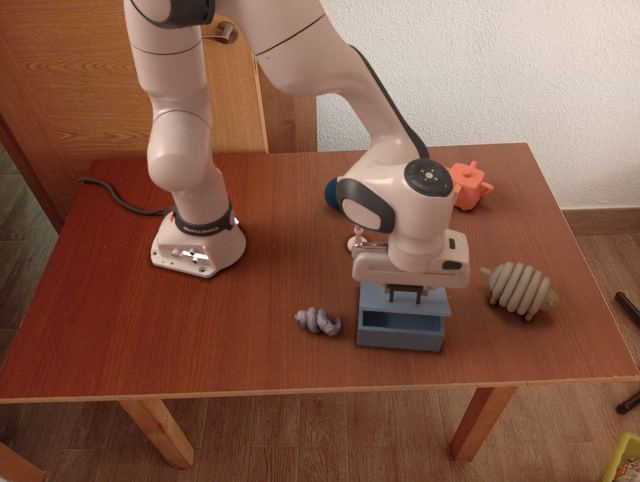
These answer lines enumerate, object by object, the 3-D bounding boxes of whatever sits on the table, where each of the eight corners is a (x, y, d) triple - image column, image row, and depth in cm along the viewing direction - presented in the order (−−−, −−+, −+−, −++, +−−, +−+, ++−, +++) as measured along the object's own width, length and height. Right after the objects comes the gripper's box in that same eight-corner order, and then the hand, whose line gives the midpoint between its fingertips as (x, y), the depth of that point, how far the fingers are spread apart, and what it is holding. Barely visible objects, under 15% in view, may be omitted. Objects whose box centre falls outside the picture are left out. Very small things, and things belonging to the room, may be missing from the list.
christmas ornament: (339, 222, 121) (339, 194, 113) (317, 203, 125) (316, 175, 117) (363, 206, 124) (365, 177, 116) (342, 188, 128) (342, 160, 120)
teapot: (471, 179, 129) (480, 151, 122) (488, 211, 122) (499, 183, 114) (430, 185, 128) (435, 156, 121) (444, 217, 121) (452, 189, 113)
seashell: (341, 331, 103) (296, 324, 104) (344, 307, 101) (297, 301, 103) (337, 341, 97) (290, 334, 99) (340, 317, 96) (291, 309, 98)
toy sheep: (544, 338, 99) (564, 309, 90) (464, 305, 104) (476, 275, 96) (555, 299, 105) (575, 269, 96) (479, 270, 110) (491, 239, 102)
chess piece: (366, 255, 114) (368, 227, 106) (345, 252, 115) (346, 224, 107) (369, 239, 117) (371, 211, 109) (349, 236, 118) (350, 208, 110)
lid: (450, 316, 88) (454, 292, 86) (359, 310, 89) (361, 286, 87) (440, 278, 101) (444, 256, 99) (361, 272, 102) (362, 251, 100)
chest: (438, 351, 98) (444, 335, 92) (357, 345, 99) (358, 329, 94) (435, 295, 106) (440, 277, 101) (360, 290, 108) (361, 272, 102)
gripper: (350, 257, 78) (348, 302, 89) (479, 265, 76) (461, 310, 87) (352, 227, 82) (350, 274, 93) (475, 234, 80) (459, 281, 91)
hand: (405, 291), depth 90 cm, fingers closed on lid, 6 cm apart
